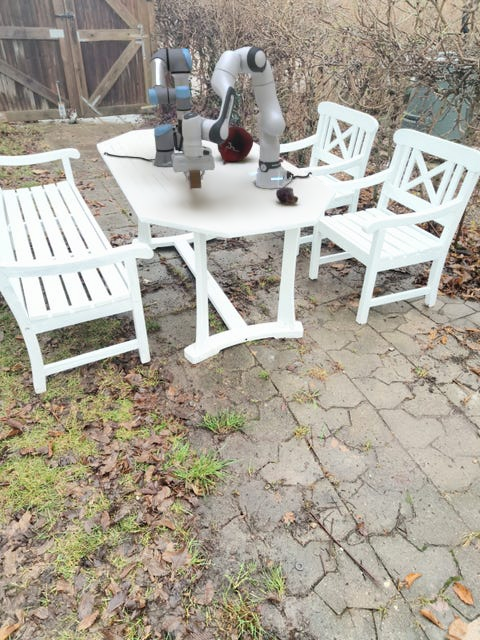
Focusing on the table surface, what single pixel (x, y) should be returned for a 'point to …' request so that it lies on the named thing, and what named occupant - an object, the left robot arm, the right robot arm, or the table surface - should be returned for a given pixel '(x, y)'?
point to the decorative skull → (236, 145)
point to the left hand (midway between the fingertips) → (187, 162)
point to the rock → (286, 195)
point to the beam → (194, 178)
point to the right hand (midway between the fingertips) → (194, 179)
